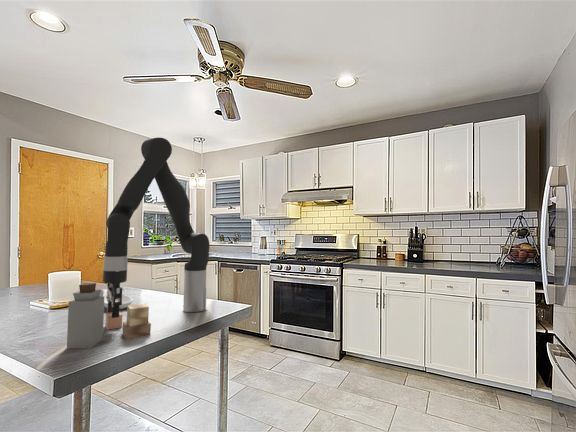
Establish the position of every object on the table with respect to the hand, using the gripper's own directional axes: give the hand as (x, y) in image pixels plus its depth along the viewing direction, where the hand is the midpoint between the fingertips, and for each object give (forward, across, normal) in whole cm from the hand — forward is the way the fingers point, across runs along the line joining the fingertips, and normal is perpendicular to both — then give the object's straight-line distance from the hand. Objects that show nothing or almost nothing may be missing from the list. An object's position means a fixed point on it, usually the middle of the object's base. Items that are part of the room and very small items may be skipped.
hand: (113, 314), depth 110 cm
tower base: (+5, +13, +5) cm, 15 cm away
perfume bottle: (+5, +13, -9) cm, 17 cm away
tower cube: (+1, +13, +5) cm, 14 cm away
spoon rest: (+4, -33, +5) cm, 34 cm away
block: (+4, 0, 0) cm, 4 cm away
